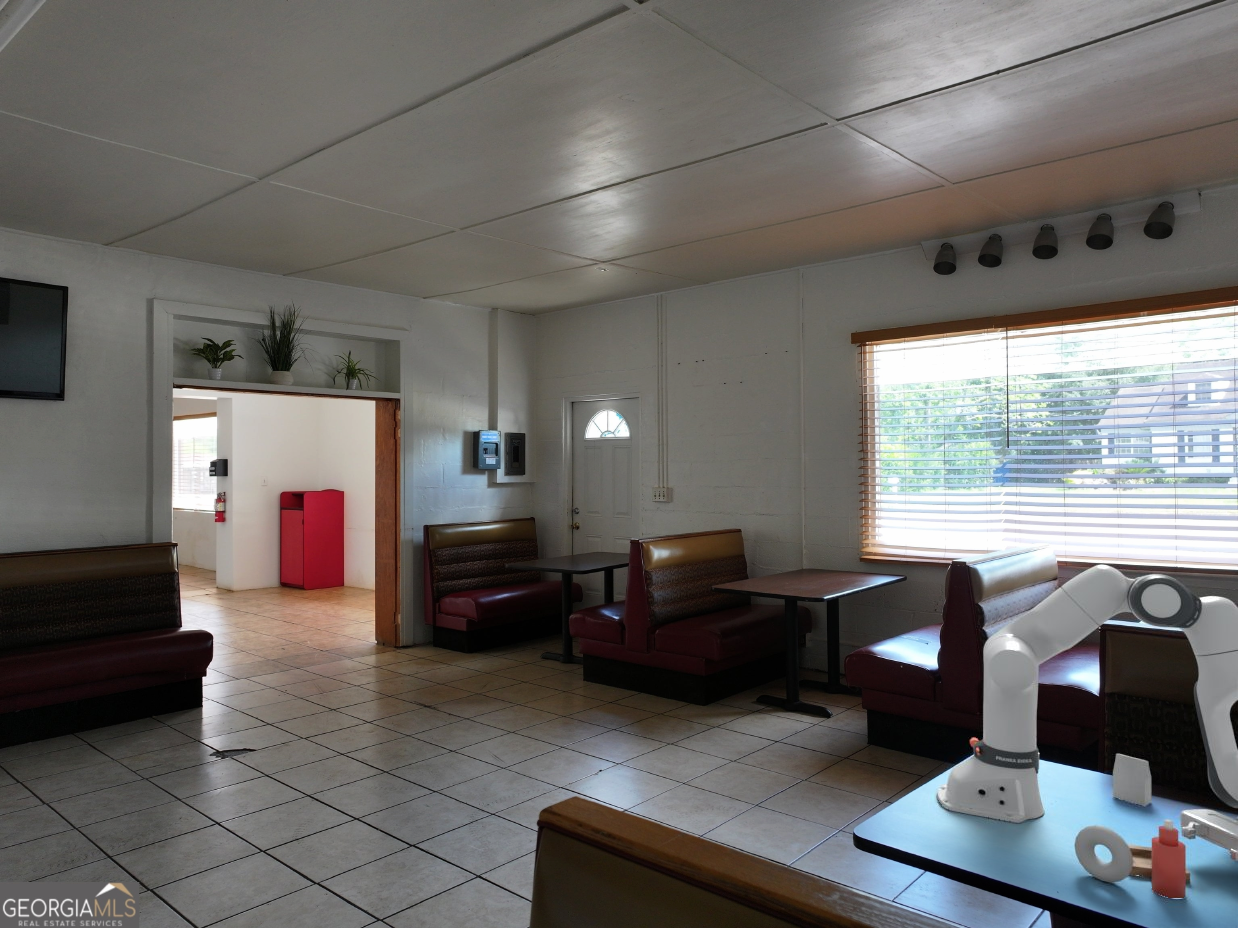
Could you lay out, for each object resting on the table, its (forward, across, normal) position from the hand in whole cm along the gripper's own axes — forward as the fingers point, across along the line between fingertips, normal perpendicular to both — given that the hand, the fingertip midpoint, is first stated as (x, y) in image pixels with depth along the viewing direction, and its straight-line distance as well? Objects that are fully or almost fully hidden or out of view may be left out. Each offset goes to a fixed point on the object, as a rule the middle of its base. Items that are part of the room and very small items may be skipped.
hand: (1208, 844), depth 155 cm
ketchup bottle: (+10, 0, +8) cm, 12 cm away
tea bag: (-21, -35, +8) cm, 41 cm away
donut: (+18, -7, +8) cm, 20 cm away
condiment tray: (+4, -8, +8) cm, 12 cm away
